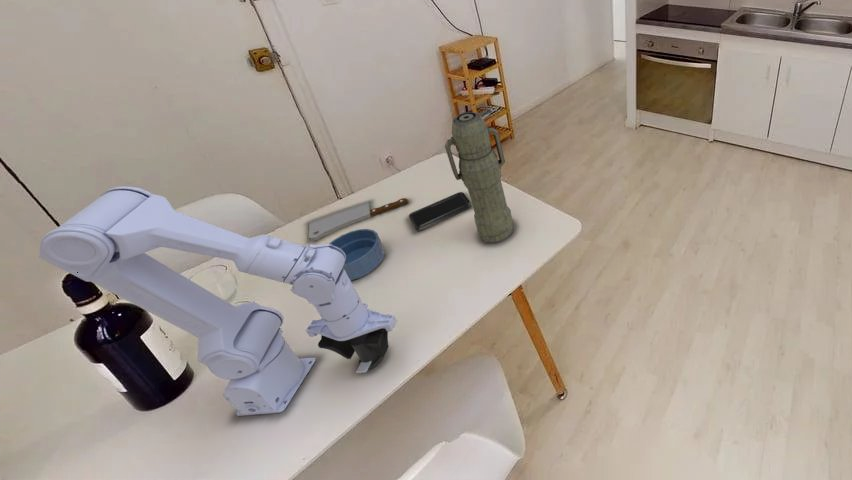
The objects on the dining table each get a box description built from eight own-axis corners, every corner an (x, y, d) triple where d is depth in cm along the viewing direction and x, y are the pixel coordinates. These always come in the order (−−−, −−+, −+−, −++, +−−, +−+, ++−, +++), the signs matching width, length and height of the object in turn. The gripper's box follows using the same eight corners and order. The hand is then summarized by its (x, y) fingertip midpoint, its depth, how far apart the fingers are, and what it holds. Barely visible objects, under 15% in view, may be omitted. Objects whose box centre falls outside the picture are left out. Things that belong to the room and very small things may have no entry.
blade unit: (374, 376, 76) (361, 354, 73) (352, 377, 76) (338, 355, 73) (390, 343, 82) (379, 321, 78) (370, 344, 82) (357, 322, 78)
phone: (471, 203, 116) (415, 229, 108) (472, 206, 117) (416, 232, 109) (461, 190, 122) (407, 214, 113) (462, 193, 122) (409, 217, 114)
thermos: (525, 229, 109) (499, 115, 91) (481, 252, 102) (445, 133, 85) (511, 212, 115) (484, 102, 97) (469, 232, 108) (433, 118, 91)
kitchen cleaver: (404, 187, 124) (408, 204, 117) (405, 190, 125) (409, 206, 117) (308, 220, 113) (305, 240, 106) (309, 223, 114) (307, 243, 106)
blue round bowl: (370, 281, 95) (362, 265, 92) (317, 285, 95) (307, 268, 92) (394, 243, 106) (387, 227, 103) (347, 246, 105) (338, 230, 102)
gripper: (393, 284, 75) (415, 330, 82) (312, 290, 74) (341, 335, 81) (374, 319, 69) (399, 365, 75) (285, 325, 68) (319, 371, 75)
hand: (368, 352), depth 78 cm, fingers open, 5 cm apart
